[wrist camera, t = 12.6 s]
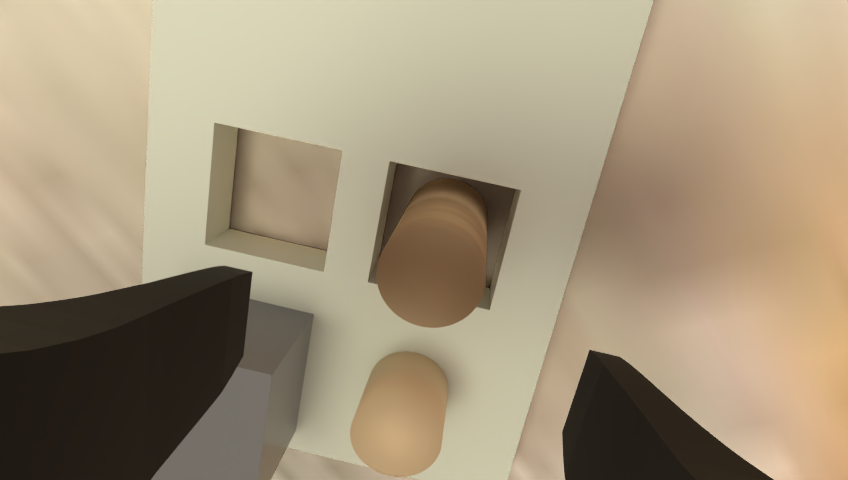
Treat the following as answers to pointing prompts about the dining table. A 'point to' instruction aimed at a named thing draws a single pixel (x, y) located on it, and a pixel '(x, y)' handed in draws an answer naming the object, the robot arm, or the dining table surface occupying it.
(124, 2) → the dining table surface
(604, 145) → the pin board
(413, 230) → the pin
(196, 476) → the grey chamfered cube
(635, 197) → the dining table surface
